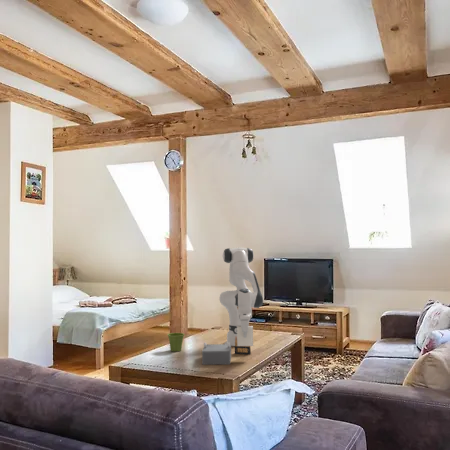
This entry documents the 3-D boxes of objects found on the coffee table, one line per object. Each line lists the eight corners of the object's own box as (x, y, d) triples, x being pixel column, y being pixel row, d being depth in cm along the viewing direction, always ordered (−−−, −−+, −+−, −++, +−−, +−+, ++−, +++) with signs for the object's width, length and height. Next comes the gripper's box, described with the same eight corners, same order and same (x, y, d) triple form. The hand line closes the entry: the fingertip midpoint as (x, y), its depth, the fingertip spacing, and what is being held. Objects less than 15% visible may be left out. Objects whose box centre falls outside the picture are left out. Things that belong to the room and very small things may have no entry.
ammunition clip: (234, 353, 338) (234, 335, 339) (235, 353, 340) (235, 335, 340) (250, 354, 335) (249, 336, 335) (250, 354, 337) (250, 335, 337)
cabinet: (205, 356, 331) (204, 339, 331) (231, 356, 330) (230, 339, 330) (202, 364, 310) (202, 346, 310) (230, 364, 309) (229, 346, 310)
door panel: (237, 344, 324) (237, 326, 324) (253, 344, 324) (252, 326, 324) (237, 346, 321) (237, 327, 321) (253, 346, 321) (252, 327, 321)
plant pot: (182, 352, 344) (181, 336, 344) (165, 352, 346) (165, 335, 346) (186, 349, 355) (186, 332, 355) (170, 348, 357) (170, 332, 358)
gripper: (240, 312, 333) (240, 333, 333) (239, 317, 312) (239, 340, 312) (249, 312, 333) (250, 333, 333) (249, 317, 312) (250, 340, 312)
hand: (245, 336), depth 322 cm, fingers closed on door panel, 3 cm apart
